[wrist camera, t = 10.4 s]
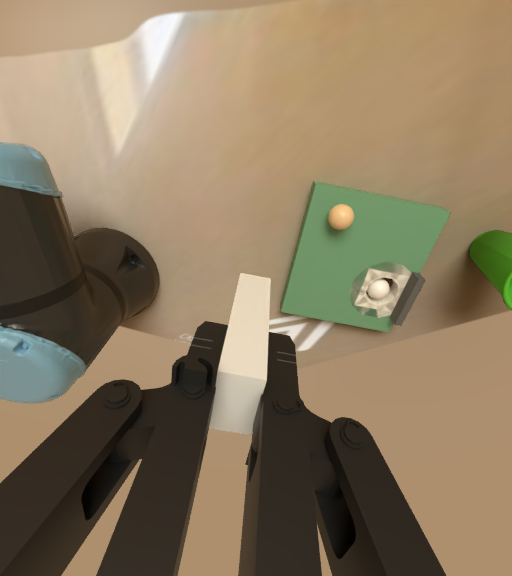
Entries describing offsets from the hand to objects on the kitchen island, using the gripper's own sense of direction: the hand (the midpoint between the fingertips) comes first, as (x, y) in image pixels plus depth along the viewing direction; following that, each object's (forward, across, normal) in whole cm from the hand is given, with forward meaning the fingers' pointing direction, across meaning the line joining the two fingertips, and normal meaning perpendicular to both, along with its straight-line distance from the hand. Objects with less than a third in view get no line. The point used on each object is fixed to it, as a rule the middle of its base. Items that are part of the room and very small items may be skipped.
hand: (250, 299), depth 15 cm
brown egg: (+25, +10, -1) cm, 27 cm away
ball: (+28, +20, -11) cm, 36 cm away
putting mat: (+29, +15, -8) cm, 34 cm away
